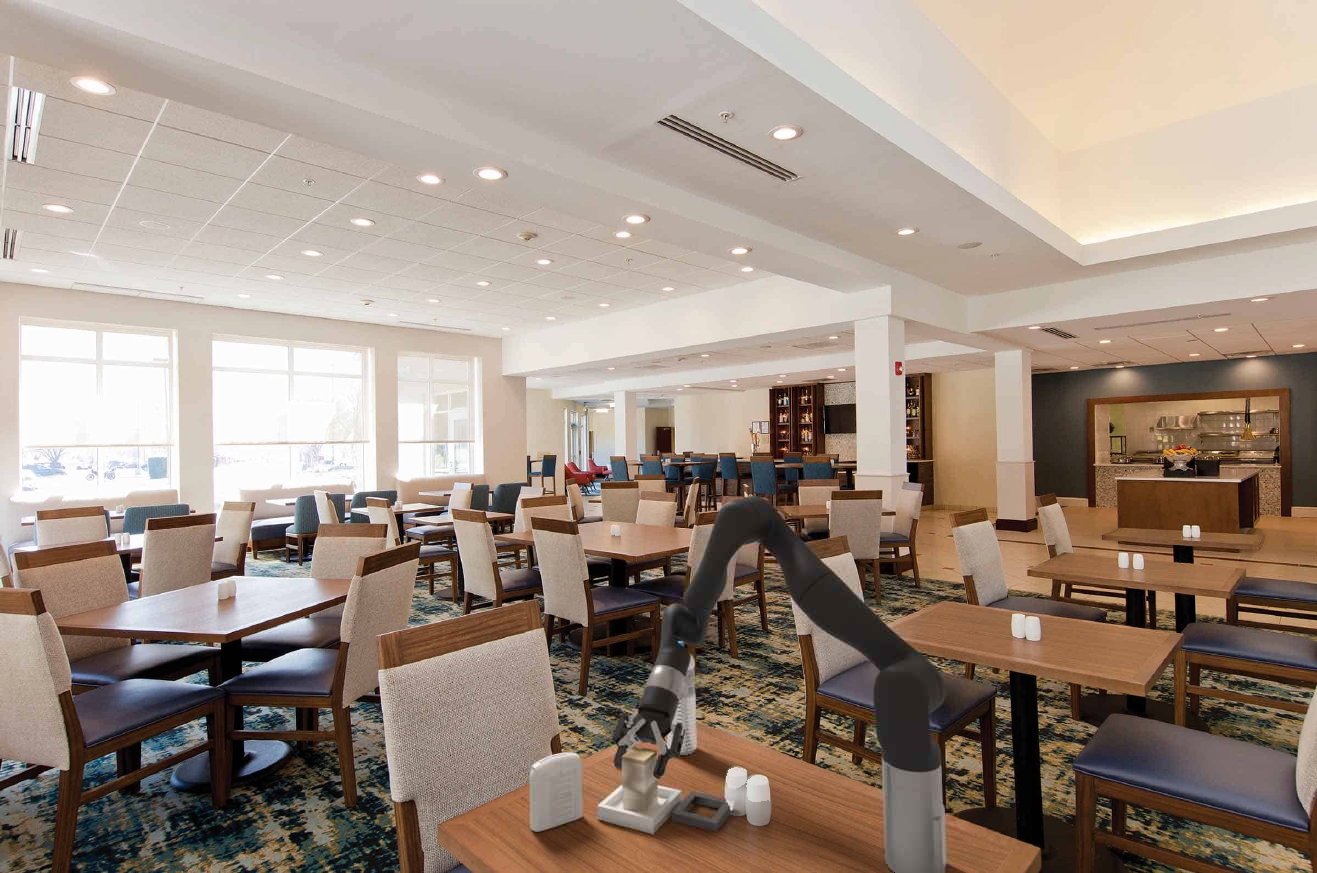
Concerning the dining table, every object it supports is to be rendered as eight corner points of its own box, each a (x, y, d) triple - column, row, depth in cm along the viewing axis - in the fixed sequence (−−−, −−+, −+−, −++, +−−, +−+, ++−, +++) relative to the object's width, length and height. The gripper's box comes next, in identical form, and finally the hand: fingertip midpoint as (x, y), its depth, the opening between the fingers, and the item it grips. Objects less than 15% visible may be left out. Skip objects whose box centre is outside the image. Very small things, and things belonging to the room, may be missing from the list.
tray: (681, 803, 133) (681, 790, 133) (653, 834, 123) (652, 820, 123) (629, 791, 139) (628, 778, 139) (597, 819, 128) (597, 805, 128)
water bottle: (662, 747, 159) (660, 640, 160) (688, 742, 162) (685, 636, 163) (675, 759, 153) (672, 647, 154) (702, 753, 156) (699, 643, 157)
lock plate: (734, 808, 131) (733, 800, 131) (716, 832, 123) (715, 823, 123) (691, 798, 135) (691, 791, 135) (671, 820, 127) (671, 812, 127)
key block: (657, 802, 132) (656, 750, 132) (645, 815, 128) (644, 761, 128) (635, 797, 134) (634, 746, 135) (622, 809, 130) (621, 756, 130)
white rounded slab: (576, 808, 132) (574, 744, 133) (586, 818, 129) (585, 752, 129) (526, 825, 127) (525, 758, 127) (535, 836, 123) (534, 767, 124)
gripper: (626, 679, 142) (597, 757, 131) (687, 689, 135) (662, 771, 124) (639, 697, 146) (612, 773, 136) (699, 707, 140) (676, 788, 129)
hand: (636, 772), depth 130 cm, fingers open, 8 cm apart
